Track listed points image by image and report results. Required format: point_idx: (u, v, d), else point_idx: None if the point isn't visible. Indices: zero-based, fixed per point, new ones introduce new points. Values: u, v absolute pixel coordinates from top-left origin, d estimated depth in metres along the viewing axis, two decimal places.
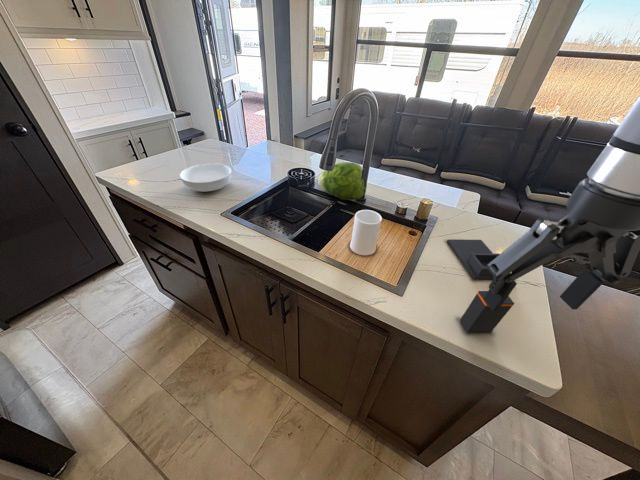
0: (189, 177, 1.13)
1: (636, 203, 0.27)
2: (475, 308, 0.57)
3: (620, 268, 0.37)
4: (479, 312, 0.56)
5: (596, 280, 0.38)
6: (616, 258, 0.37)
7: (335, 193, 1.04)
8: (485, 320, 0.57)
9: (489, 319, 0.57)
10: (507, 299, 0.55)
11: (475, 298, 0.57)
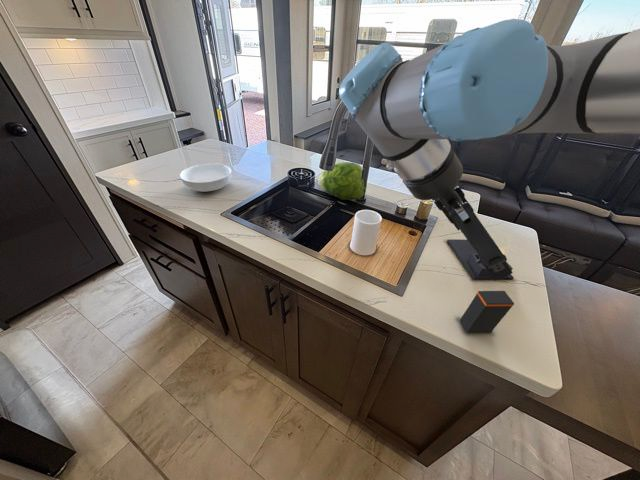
0: (189, 177, 1.13)
1: (451, 154, 0.33)
2: (475, 308, 0.57)
3: None
4: (479, 312, 0.56)
5: None
6: None
7: (335, 193, 1.04)
8: (485, 320, 0.57)
9: (489, 319, 0.57)
10: (507, 299, 0.55)
11: (475, 298, 0.57)
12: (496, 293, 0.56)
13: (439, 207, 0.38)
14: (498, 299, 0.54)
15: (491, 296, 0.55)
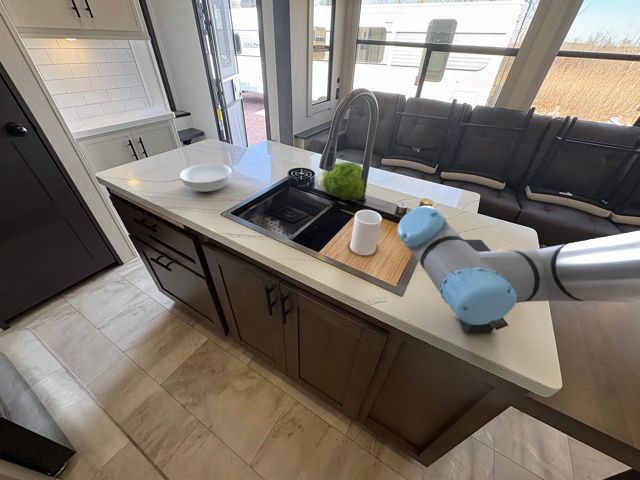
0: (189, 177, 1.13)
1: None
2: None
3: None
4: None
5: None
6: None
7: (335, 193, 1.04)
8: None
9: None
10: None
11: None
12: None
13: None
14: None
15: None
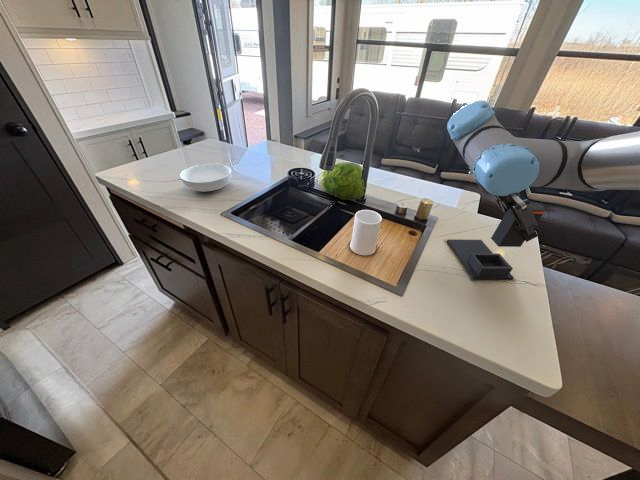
0: (189, 177, 1.13)
1: None
2: (507, 220, 0.63)
3: None
4: (512, 222, 0.61)
5: None
6: None
7: (335, 193, 1.04)
8: (517, 231, 0.63)
9: None
10: (538, 208, 0.60)
11: (508, 211, 0.63)
12: None
13: (502, 200, 0.57)
14: None
15: None
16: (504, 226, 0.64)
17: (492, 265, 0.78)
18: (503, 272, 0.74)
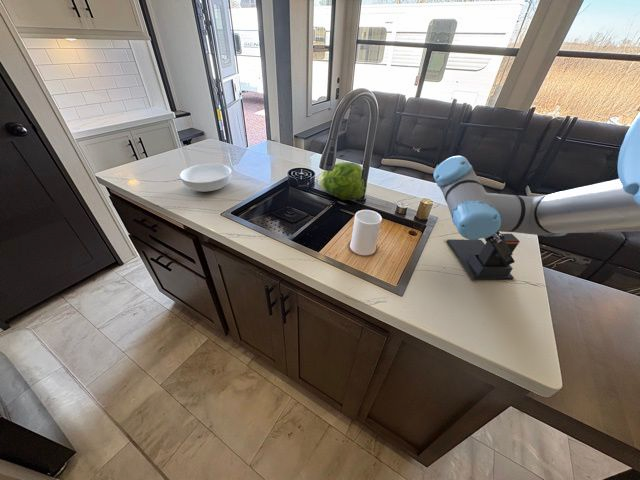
0: (189, 177, 1.13)
1: None
2: (488, 248, 0.72)
3: None
4: (492, 250, 0.71)
5: None
6: None
7: (335, 193, 1.04)
8: (496, 257, 0.72)
9: None
10: (514, 238, 0.69)
11: None
12: (505, 234, 0.71)
13: None
14: (507, 238, 0.69)
15: None
16: (485, 253, 0.73)
17: None
18: (503, 272, 0.74)
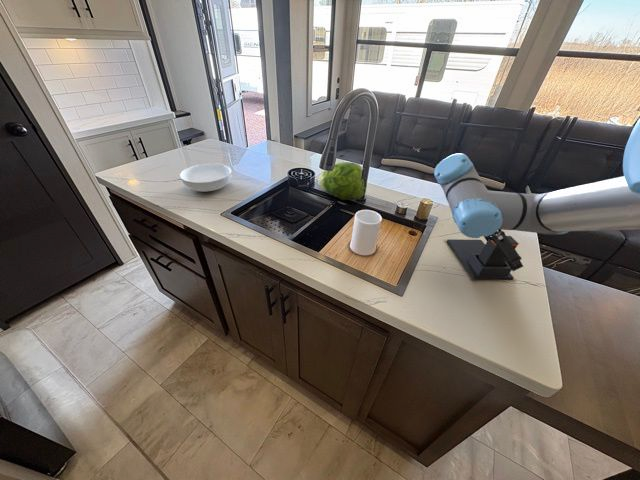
0: (189, 177, 1.13)
1: None
2: (487, 250, 0.72)
3: None
4: (491, 252, 0.71)
5: None
6: None
7: (335, 193, 1.04)
8: (495, 259, 0.72)
9: (499, 258, 0.72)
10: (513, 241, 0.70)
11: (487, 242, 0.72)
12: None
13: None
14: None
15: None
16: (484, 255, 0.73)
17: None
18: (503, 272, 0.74)
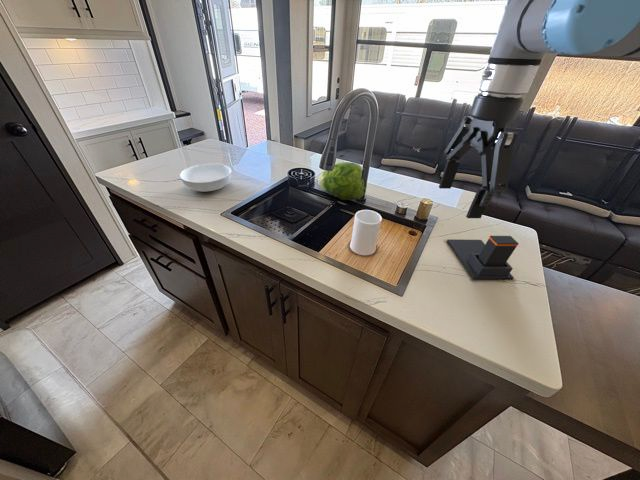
0: (189, 177, 1.13)
1: (522, 98, 0.44)
2: (487, 250, 0.72)
3: None
4: (491, 252, 0.71)
5: (457, 163, 0.59)
6: (456, 145, 0.57)
7: (335, 193, 1.04)
8: (495, 259, 0.72)
9: (499, 258, 0.72)
10: (513, 241, 0.70)
11: (487, 242, 0.72)
12: (504, 237, 0.71)
13: (482, 135, 0.47)
14: (506, 240, 0.70)
15: (500, 238, 0.70)
16: (484, 255, 0.73)
17: None
18: (503, 272, 0.74)
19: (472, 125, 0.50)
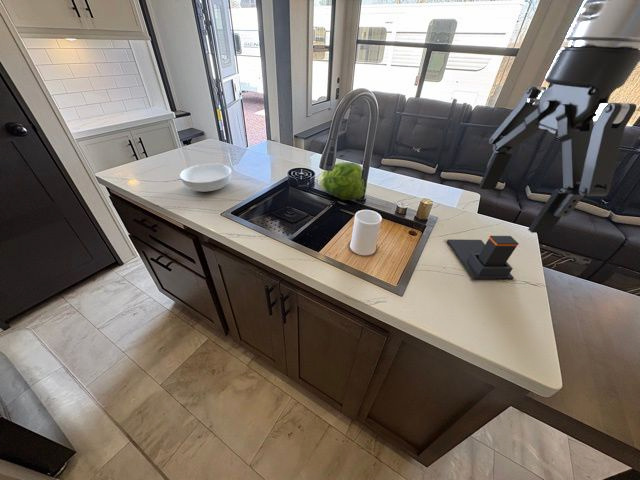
0: (189, 177, 1.13)
1: None
2: (487, 250, 0.72)
3: None
4: (491, 252, 0.71)
5: (509, 155, 0.43)
6: (510, 130, 0.42)
7: (335, 193, 1.04)
8: (495, 259, 0.72)
9: (499, 258, 0.72)
10: (513, 241, 0.70)
11: (487, 242, 0.72)
12: (504, 237, 0.71)
13: (566, 111, 0.31)
14: (506, 240, 0.70)
15: (500, 238, 0.70)
16: (484, 255, 0.73)
17: None
18: (503, 272, 0.74)
19: (544, 98, 0.35)
